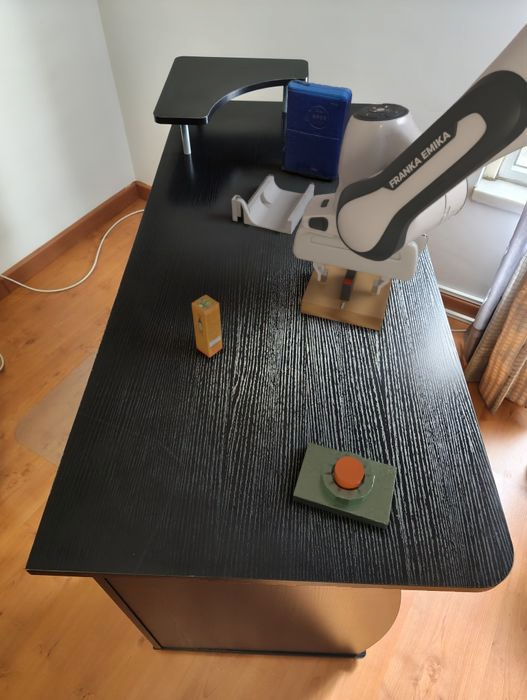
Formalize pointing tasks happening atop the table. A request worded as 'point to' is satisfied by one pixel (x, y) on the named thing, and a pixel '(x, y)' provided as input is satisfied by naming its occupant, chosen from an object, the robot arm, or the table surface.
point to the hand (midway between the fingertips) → (348, 285)
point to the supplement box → (207, 325)
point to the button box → (327, 495)
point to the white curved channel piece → (273, 207)
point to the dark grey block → (348, 284)
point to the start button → (348, 472)
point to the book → (315, 128)
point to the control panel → (356, 311)
